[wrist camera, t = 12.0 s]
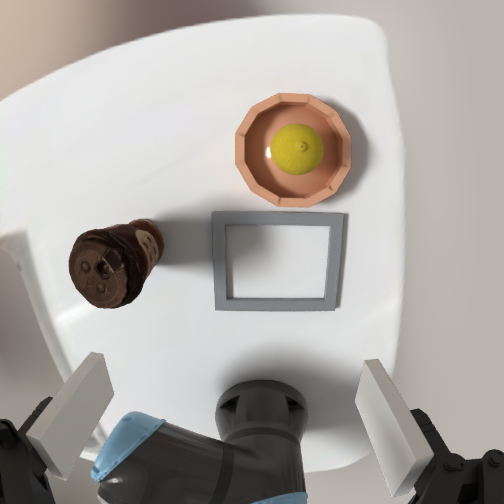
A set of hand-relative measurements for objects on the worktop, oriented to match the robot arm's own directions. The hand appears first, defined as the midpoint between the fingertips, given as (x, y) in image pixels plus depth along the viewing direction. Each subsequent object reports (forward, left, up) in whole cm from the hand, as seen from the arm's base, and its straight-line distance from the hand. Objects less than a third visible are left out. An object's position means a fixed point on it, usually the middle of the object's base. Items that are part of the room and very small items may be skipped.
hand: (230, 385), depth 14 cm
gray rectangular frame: (-2, -4, -26) cm, 26 cm away
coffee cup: (+1, +14, -26) cm, 29 cm away
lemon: (+12, -5, -25) cm, 28 cm away
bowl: (+12, -5, -26) cm, 29 cm away
